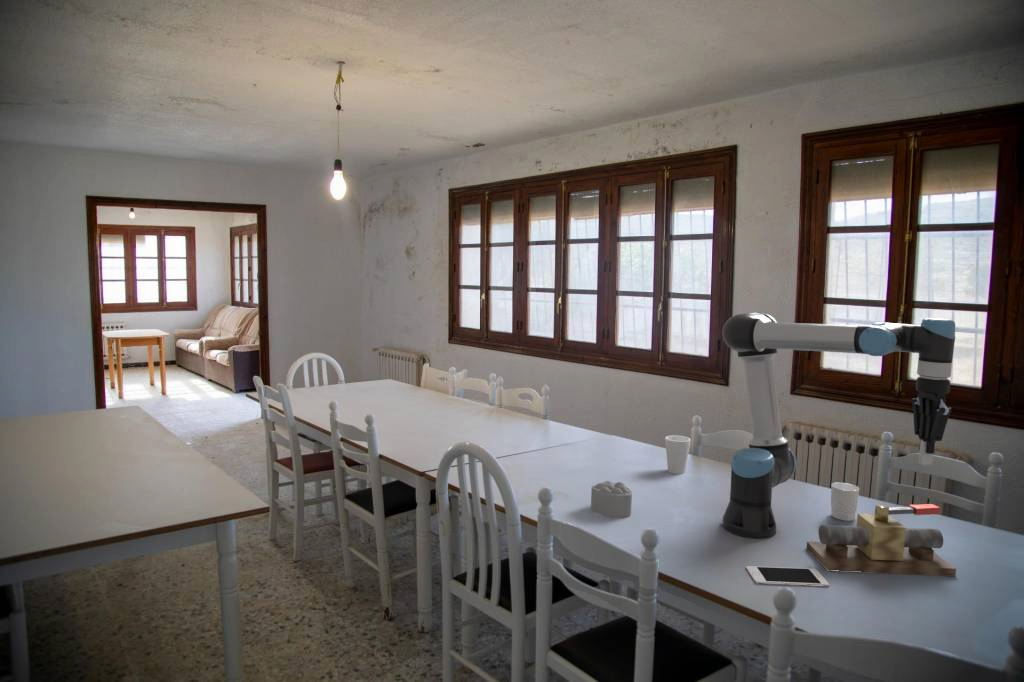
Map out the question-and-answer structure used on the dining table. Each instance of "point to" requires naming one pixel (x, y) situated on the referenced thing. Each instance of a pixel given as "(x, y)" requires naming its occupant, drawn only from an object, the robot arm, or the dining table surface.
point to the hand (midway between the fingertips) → (925, 464)
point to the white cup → (844, 501)
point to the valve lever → (904, 511)
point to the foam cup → (677, 453)
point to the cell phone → (787, 575)
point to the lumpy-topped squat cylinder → (611, 499)
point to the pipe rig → (880, 548)
